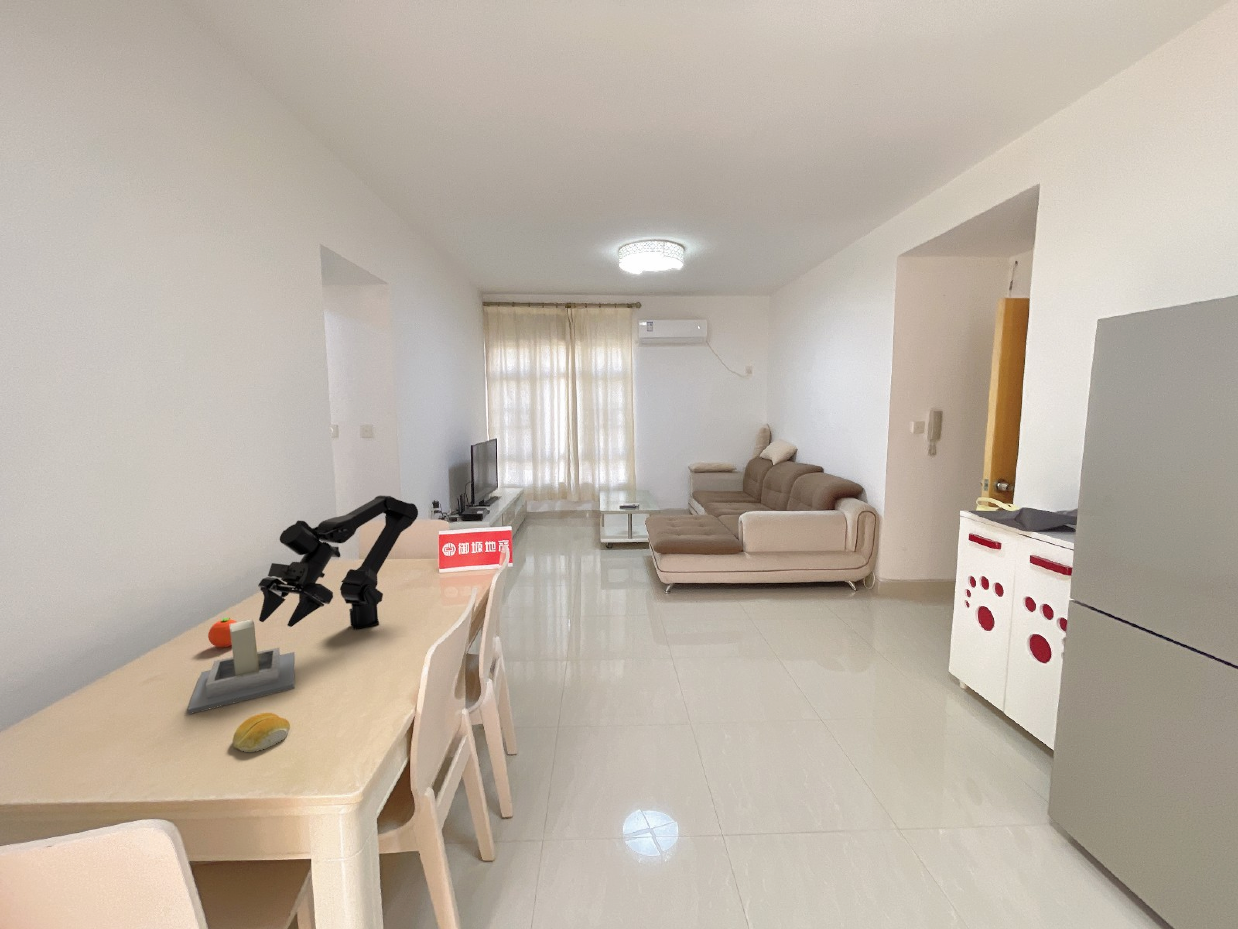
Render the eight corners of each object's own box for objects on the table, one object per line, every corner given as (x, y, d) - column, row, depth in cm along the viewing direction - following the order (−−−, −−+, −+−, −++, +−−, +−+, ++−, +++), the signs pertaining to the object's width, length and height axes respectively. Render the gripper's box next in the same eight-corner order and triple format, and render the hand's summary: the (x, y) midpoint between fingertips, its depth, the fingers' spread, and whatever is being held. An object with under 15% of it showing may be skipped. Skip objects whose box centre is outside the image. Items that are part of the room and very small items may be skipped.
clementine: (215, 641, 137) (212, 615, 137) (247, 636, 140) (244, 611, 139) (205, 654, 130) (202, 627, 129) (238, 649, 133) (236, 622, 132)
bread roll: (272, 720, 102) (270, 701, 101) (297, 734, 97) (295, 714, 97) (223, 744, 95) (221, 723, 94) (248, 760, 90) (246, 738, 90)
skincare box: (260, 679, 115) (255, 626, 114) (235, 686, 112) (230, 632, 111) (258, 668, 120) (253, 618, 119) (234, 675, 117) (229, 623, 116)
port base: (294, 655, 128) (294, 652, 128) (294, 688, 113) (293, 683, 113) (202, 676, 119) (201, 672, 119) (187, 714, 104) (187, 709, 104)
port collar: (280, 659, 124) (279, 647, 124) (278, 682, 114) (277, 668, 114) (215, 673, 118) (214, 661, 118) (207, 699, 107) (205, 685, 107)
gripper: (262, 545, 128) (219, 604, 119) (318, 551, 122) (278, 614, 113) (294, 567, 136) (256, 624, 127) (348, 573, 130) (313, 634, 121)
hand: (274, 623), depth 122 cm, fingers open, 9 cm apart
